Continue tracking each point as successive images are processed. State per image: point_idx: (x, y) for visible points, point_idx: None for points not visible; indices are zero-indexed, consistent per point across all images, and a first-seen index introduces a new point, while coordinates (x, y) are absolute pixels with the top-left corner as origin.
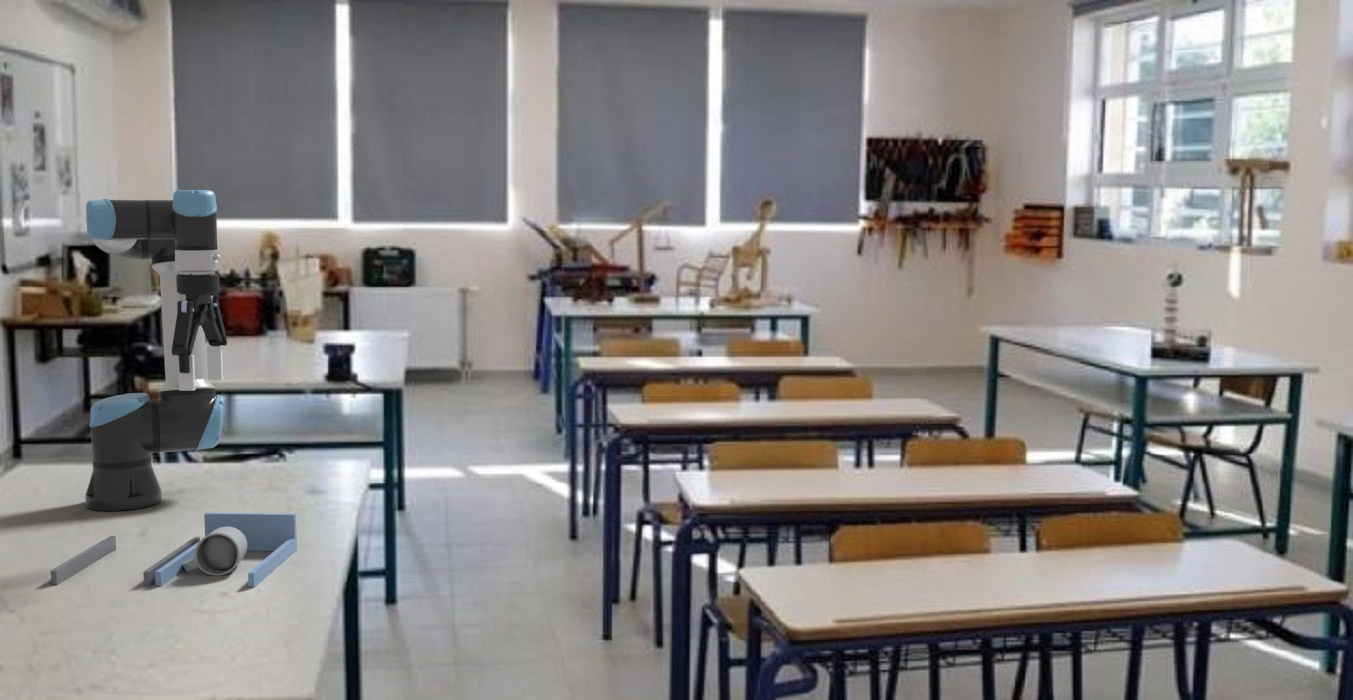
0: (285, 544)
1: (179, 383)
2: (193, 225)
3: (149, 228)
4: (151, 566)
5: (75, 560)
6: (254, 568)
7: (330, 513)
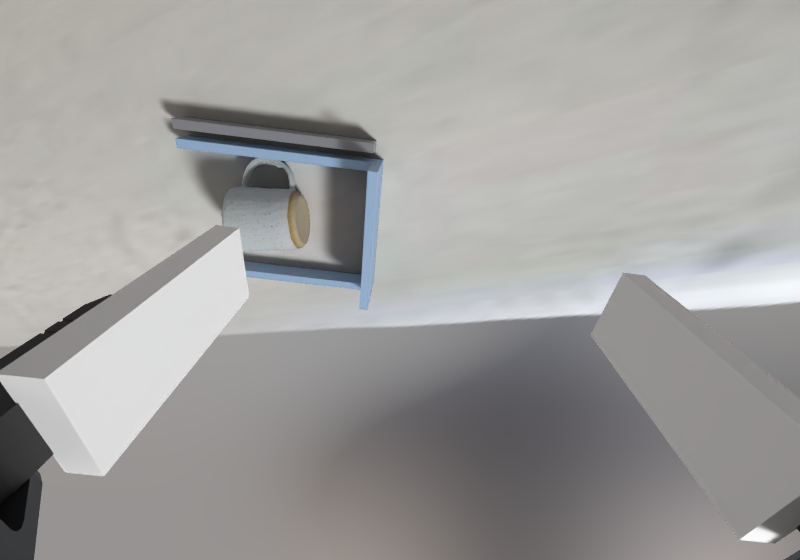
0: (333, 284)
1: (194, 243)
2: None
3: None
4: (199, 122)
5: None
6: None
7: (562, 293)
